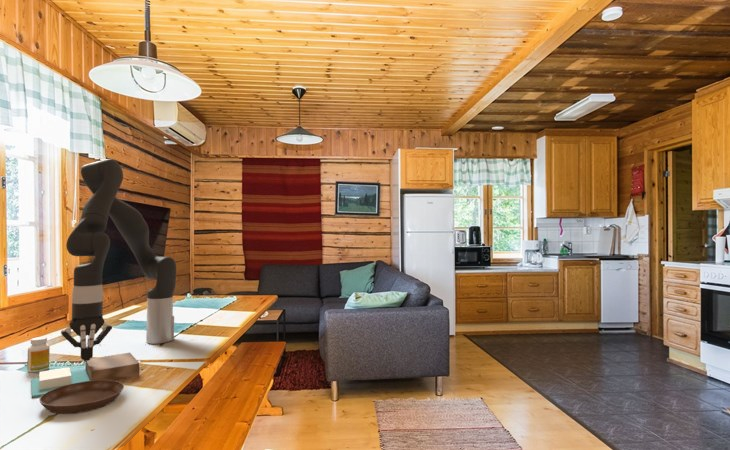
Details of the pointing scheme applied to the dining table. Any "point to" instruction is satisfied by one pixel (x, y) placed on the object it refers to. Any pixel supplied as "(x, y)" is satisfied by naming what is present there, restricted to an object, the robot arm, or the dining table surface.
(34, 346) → the supplement bottle
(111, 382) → the plant saucer
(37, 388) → the mat
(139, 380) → the dining table surface
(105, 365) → the bronze rectangular block
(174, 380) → the dining table surface
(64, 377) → the white block
